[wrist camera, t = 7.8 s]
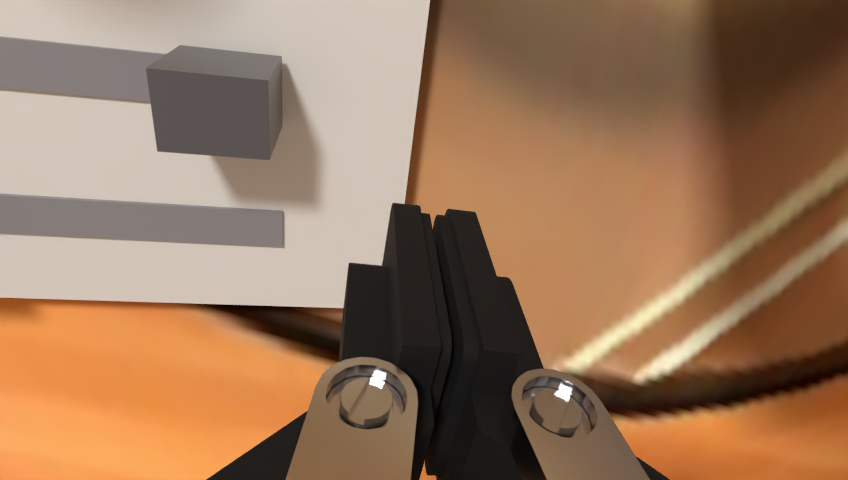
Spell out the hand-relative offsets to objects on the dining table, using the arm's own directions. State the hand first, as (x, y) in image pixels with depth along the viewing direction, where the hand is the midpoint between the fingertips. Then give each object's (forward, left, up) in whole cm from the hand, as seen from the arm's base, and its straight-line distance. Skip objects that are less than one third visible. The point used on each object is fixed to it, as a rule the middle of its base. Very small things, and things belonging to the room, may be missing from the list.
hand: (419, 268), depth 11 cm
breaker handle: (+6, +1, -14) cm, 15 cm away
